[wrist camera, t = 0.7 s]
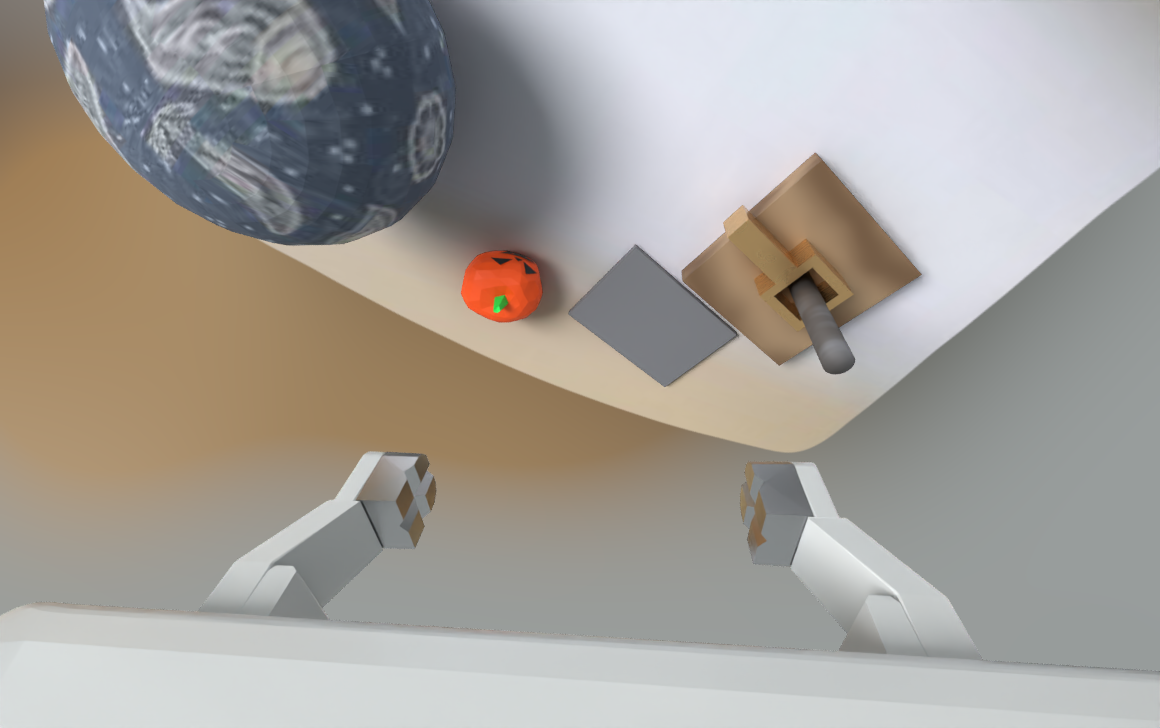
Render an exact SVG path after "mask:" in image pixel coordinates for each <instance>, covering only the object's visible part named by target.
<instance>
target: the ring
mask: <svg viewBox="0 0 1160 728" xmlns="http://www.w3.org/2000/svg"><path fill="white" fill-rule="evenodd" d="M723 224H724V228H725V231H726V235H727V238H728V239H729V240H730V241H731V242H732V243H733V244H734V245H736V246H737V247H738V248H739V249H740V250H741V251H742V252H743V253H744V254H745V255H746V256H747V257H748V258H749V259H750V260H751V261H752V262H753V263H754V264H755V265H756V266H757V267H758V268H759V269H761V270H762V271H763V272H762V273H761V274H760V275H759V276H757V277H756V278H755V279H754V281H755V284H756V287H757V290H758V293H759V296H760V297H761V298H762V299H763V300H764V301H765V302H766V303H767V304H768V305H769V306H770V307H771V308H773V309H774V310H775V311H776V312H777V313H778V314H779V315H780V316H781V317H782V318H783V319H784V320H785V321H786V322H788V323H789V324H790V325H791V326H792V327H793V328H794V329H795V330H796V331H797V332H798V331H800V330H801V329H803V328H804V327H805V325H804V323H803V321H802V318H801V316H800V314H799V312H798V309H797V307H796V305H795V302H793V303H792V302H791V301H790V300H789V299H788V298H787V297H786V296H785V295H784V294H782V293H781V292H780V291H781V290H783V289H784V288H786V287H787V286H788V285H790V284H791V283H792V282H794V281H795V280H796V279H798V278H799V277H800V276H802V275H803V274H804V273H806V272H807V271H809V270H810V269H811V268H813V269H814V270H815V271H816V272H817V273H818V274H819V275H820V276H821V277H822V278H823V279H824V281H823V282H821V283H820V284H818V285H817V288H818V290H819V292H820V294H821V296H822V298H823V299H824V301H825V303H826V305H827V307H828V309H829V311H830V310H831V309H833V308H834V307H836V306H837V305H839V304H840V303H842V302H843V301H845V300H846V299H848V298H849V297H851V296H852V295H854V294H853V292H852V291H851V289H850V288H849V286H848V285H847V283H846V281H845V280H844V278H843V277H842V276H841V275H840V274H839V273H838V272H837V270H836V269H835V268H834V267H833V266H832V265H831V264H830V263H829V262H828V261H827V260H826V259H825V258H824V257H823V256H822V255H821V254H820V253H819V252H818V251H817V250H816V249H815V248H814V246H813V245H812V244H811V243H810V242H809V241H808V240H807V239H805V240H803V241H802V242H801V243H800V244H798V245H797V246H796V247H794V248H793V249H792V250H791V251H788V250H787V249H786V248H785V247H784V246H783V245H782V244H781V243H780V242H779V241H778V240H777V239H776V238H775V237H774V236H773V235H772V234H771V233H770V232H769V231H768V230H767V229H766V228H765V227H764V226H763V225H762V224H761V223H760V222H759V221H758V220H757V219H756V218H755V217H754V216H753V215H752V214H751V213H750V212H749V211H748V210H747V209H746V208H745V207H744V206H743V205H742V206H741V207H740V208H739V209H738V210H737V211H735V212H734V213H733V214H732V215H731V216H730V217H729V218H728V219H727V220H725V221H724V222H723Z"/></svg>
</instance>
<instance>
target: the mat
mask: <svg viewBox="0 0 1160 728" xmlns="http://www.w3.org/2000/svg"><path fill="white" fill-rule="evenodd" d="M568 314H569V315H570V316H571V317H573V318H574V319H575V320H577V321H578V322H579V323H581V324H582V325H583V326H585V327H586V328H587V329H588V330H590V331H591V332H592V333H594V334H595V335H596V336H598V337H599V338H600V339H602V340H603V341H604V342H606V343H607V344H608V345H610V346H611V347H612V348H614V349H615V350H616V351H618V352H619V353H620V354H622V355H623V356H624V357H626V358H627V359H628V360H629V361H631V362H632V363H633V364H635V365H636V366H637V367H639V368H640V369H641V370H643V371H644V372H645V373H647V374H648V375H649V376H651V377H652V378H653V379H655V380H656V381H657V382H659V383H660V384H661V385H663V386H664V387H666V386H667V385H668V384H670V383H671V382H673V381H674V380H675V379H677V378H678V377H679V376H681V375H682V374H684V373H685V372H686V371H688V370H689V369H691V368H692V367H693V366H695V365H696V364H697V363H699V362H700V361H702V360H703V359H704V358H706V357H707V356H709V355H710V354H711V353H713V352H714V351H715V350H717V349H718V348H720V347H721V346H722V345H724V344H725V343H727V342H728V341H729V340H731V339H732V338H733V337H735V336H736V335H737V334H736V331H734V330H733V329H732V328H731V327H730V326H729V325H728V324H726V323H725V322H724V321H723V320H722V319H721V318H720V317H718V316H717V315H716V314H715V313H714V312H713V311H711V310H710V309H709V308H708V307H707V306H706V305H705V304H703V303H702V302H701V301H700V300H699V299H698V298H697V297H695V296H694V295H693V294H692V293H691V292H690V291H689V290H687V289H686V288H685V287H684V286H683V285H682V284H680V283H679V282H678V281H677V280H676V279H675V278H674V277H672V276H671V275H670V274H669V273H668V272H667V271H666V270H664V269H663V268H662V267H661V266H660V265H659V264H657V263H656V262H655V261H654V260H653V259H652V258H651V257H649V256H648V255H647V254H646V253H645V252H644V251H643V250H641V249H640V248H639V247H638V246H637V245H635V246H634V247H633V248H632V249H631V250H630V251H629V252H628V253H627V254H626V255H625V256H624V257H623V258H622V259H621V260H620V261H619V262H618V263H617V264H616V265H615V266H614V267H613V268H612V269H611V270H610V271H609V272H608V273H607V274H606V275H605V276H604V277H603V278H602V279H601V280H600V281H599V282H598V283H597V284H596V285H595V286H594V287H593V288H592V289H591V290H590V291H589V292H588V293H587V294H586V295H585V296H584V297H583V298H582V299H581V300H580V301H579V302H578V303H577V304H576V305H575V306H574V307H573V308H572V309H571V310H570V311H569V313H568Z"/></svg>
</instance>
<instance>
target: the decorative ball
mask: <svg viewBox="0 0 1160 728" xmlns="http://www.w3.org/2000/svg"><path fill="white" fill-rule="evenodd" d="M44 6H45V14H46V21H47V28H48V34H49V36H50V39H51V41H52V44H53V46H54V49H55V51H56V54H57V56H58V58H59V61H60V63H61V66H62V68H63V71H64V73H65V76H66V78H67V81H68V83H69V85H70V88H71V90H72V92H73V93H74V95H75V96H76V98H77V99H78V101H79V102H80V104H81V105H82V107H83V109H84V110H85V112H86V113H87V115H88V116H89V118H90V119H91V121H92V122H93V124H94V125H95V127H96V128H97V130H98V132H99V133H100V134H101V135H102V136H103V137H104V138H105V139H106V141H108V143H109V144H110V145H111V146H112V147H113V148H114V149H115V150H116V151H117V152H118V153H119V155H120V156H121V157H122V158H123V159H124V160H125V161H126V162H127V163H128V164H129V166H130V167H131V168H132V169H134V170H135V171H136V172H137V173H138V174H139V175H141V176H142V177H143V178H145V179H146V180H147V181H148V182H150V183H151V184H152V185H153V186H155V187H156V188H157V189H159V190H160V191H161V192H162V193H164V194H165V195H166V196H167V197H169V198H170V199H171V200H172V201H174V202H175V203H176V204H178V205H180V206H182V207H184V208H186V209H187V210H189V211H191V212H193V213H195V214H197V215H199V216H201V217H203V218H204V219H206V220H208V221H210V222H212V223H214V224H216V225H218V226H221V227H223V228H225V229H227V230H230V231H232V232H236V233H239V234H243V235H247V236H250V237H254V238H257V239H261V240H265V241H268V242H272V243H278V244H283V245H333V244H345V243H348V242H351V241H354V240H357V239H360V238H362V237H365V236H367V235H370V234H372V233H375V232H377V231H379V230H382V229H384V228H387V227H389V226H392V225H393V224H395V223H396V222H398V221H399V220H401V219H402V218H403V217H404V216H405V215H406V214H407V213H408V212H409V211H410V210H411V209H412V208H413V207H414V206H415V205H416V204H417V203H418V202H419V201H420V199H421V198H422V197H423V196H424V195H425V194H426V193H427V192H428V191H429V190H430V189H431V187H432V186H433V185H434V183H435V181H436V179H437V177H438V174H439V172H440V169H441V167H442V164H443V162H444V159H445V157H446V154H447V152H448V149H449V147H450V144H451V141H452V137H453V127H454V110H455V94H456V87H455V82H454V77H453V73H452V68H451V63H450V58H449V53H448V48H447V44H446V39H445V34H444V32H443V29H442V27H441V25H440V23H439V21H438V19H437V17H436V15H435V12H434V10H433V8H432V6H431V4H430V2H429V0H44Z"/></svg>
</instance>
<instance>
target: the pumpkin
mask: <svg viewBox="0 0 1160 728" xmlns="http://www.w3.org/2000/svg"><path fill="white" fill-rule="evenodd" d="M542 293H543V291H542V286H541V280H540V274H539V270H538V266H537V265H536V264H535V262H533V261H532V260H531V259H530V258H527V257H525V256H523V255H521V254H517V253H513V252H510V251H490V252H485V253H482V254H480V255H478V256H477V257H476V258H475V259H474V260H473V261H472V262H471V263H470V264H469V266H468V267H467V269H466V271H465V275H464V280H463V285H462V290H461V294H462V297H463V299H464V301H465V303H466V304H467V306H468V308H470V309H471V310H473V311H474V312H476V313H477V314H479V315H481V316H483V317H485V318H487V319H490V320H493V321H496V322H513V321H516V320H520V319H523V318H526V317H528V316H529V315H530V314H531V313H532V312H533V311H535V310H536V309H537V307H538V304H539V302H540V299H541V296H542Z"/></svg>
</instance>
